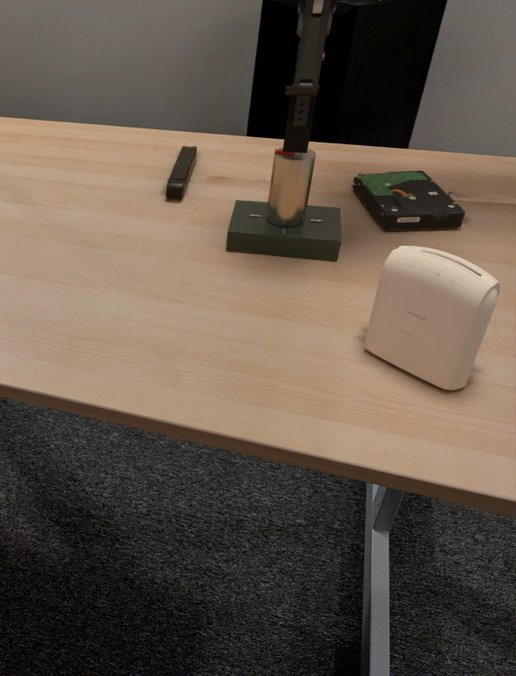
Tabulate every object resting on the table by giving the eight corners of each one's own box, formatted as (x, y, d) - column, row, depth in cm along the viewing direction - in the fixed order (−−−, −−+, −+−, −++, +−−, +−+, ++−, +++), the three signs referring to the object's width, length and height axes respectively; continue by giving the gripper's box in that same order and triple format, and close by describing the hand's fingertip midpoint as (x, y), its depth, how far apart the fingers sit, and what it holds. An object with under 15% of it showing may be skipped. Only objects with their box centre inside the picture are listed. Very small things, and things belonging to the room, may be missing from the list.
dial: (305, 212, 88) (316, 144, 83) (304, 228, 85) (316, 159, 79) (267, 209, 90) (276, 142, 84) (264, 225, 86) (273, 156, 81)
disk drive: (462, 231, 88) (418, 186, 100) (468, 212, 86) (423, 168, 98) (383, 233, 89) (349, 188, 101) (388, 215, 87) (353, 171, 99)
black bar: (181, 203, 100) (182, 184, 98) (165, 201, 101) (165, 183, 99) (197, 160, 114) (198, 143, 112) (182, 159, 115) (183, 143, 113)
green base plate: (336, 227, 91) (340, 206, 89) (337, 261, 83) (341, 239, 81) (233, 218, 95) (236, 198, 93) (225, 251, 87) (227, 229, 85)
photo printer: (354, 348, 69) (381, 243, 61) (379, 333, 70) (408, 229, 63) (450, 398, 62) (492, 287, 54) (474, 380, 63) (519, 270, 56)
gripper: (295, -79, 78) (272, 101, 91) (285, -56, 60) (257, 167, 72) (362, -82, 76) (329, 103, 89) (373, -59, 57) (329, 172, 70)
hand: (296, 132), depth 80 cm, fingers open, 13 cm apart
